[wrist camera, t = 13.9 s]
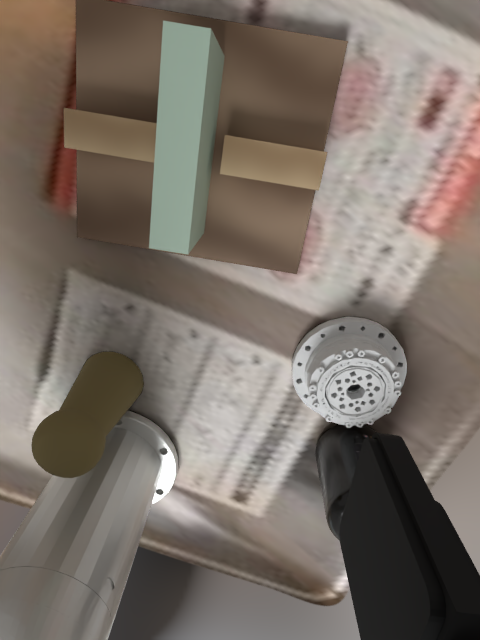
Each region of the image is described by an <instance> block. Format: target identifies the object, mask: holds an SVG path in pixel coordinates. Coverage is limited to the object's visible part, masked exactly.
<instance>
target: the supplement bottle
mask: <svg viewBox="0 0 480 640" xmlns="http://www.w3.org/2000/svg"><path fill="white" fill-rule="evenodd" d="M374 433H377V432H376V431H375V430H373V429H372V428H370V427H368V426H366V425H363V426H362V427H357V426H356V425H354V426H352V427H351V428H347V427H346V425H337V426H335V427H332V428H331V429H329V430H328V431H326V432H325V433H324V434H323V435H322V437H321V438H320V439H319V441H318V443H317V446H316V461H317V468H318V473H319V479H320V485H321V491H322V496H323V502H324V508H325V514H326V519H327V523H328V526H329V528H330V530H331V532H332V533H333V534H334V536H335V537H336V538H337V539H338V540H339V541H340V537H339V530H340V523H341V519H342V516H343V512H344V509H345V505H346V501H347V498H348V494H349V491H350V487H351V483H352V480H353V476H354V473H355V469H356V466H357V462H358V458H359V455H360V451H361V448H362V444H363V441H364V439H366V438H369V439H371V437H372V435H373V434H374Z"/></svg>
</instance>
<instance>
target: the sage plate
mask: <svg viewBox="0 0 480 640" xmlns="http://www.w3.org/2000/svg"><path fill="white" fill-rule="evenodd" d="M224 57H225V56H224V54H223V52H222V50H221V48H220V46H219V43H218V41H217V39H216V37H215V35H214V33H213V31H212V29H211V28H205V27H199V26H193V25H187V24H181V23H175V22H169V21H163V31H162V47H161V63H160V79H159V95H158V111H157V127H156V143H155V159H154V175H153V191H152V207H151V223H150V239H149V248H151V249H157V250H163V251H169V252H175V253H181V254H187V255H188V254H189V253H190V251H191V250H192V249H193V247H194V246H195V244H196V243H197V242H198V240H199V239H200V238H201V236H202V235H203V234H204V229H205V221H206V212H207V203H208V195H209V186H210V178H211V169H212V160H213V152H214V143H215V134H216V126H217V117H218V109H219V100H220V91H221V83H222V74H223V65H224Z"/></svg>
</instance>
